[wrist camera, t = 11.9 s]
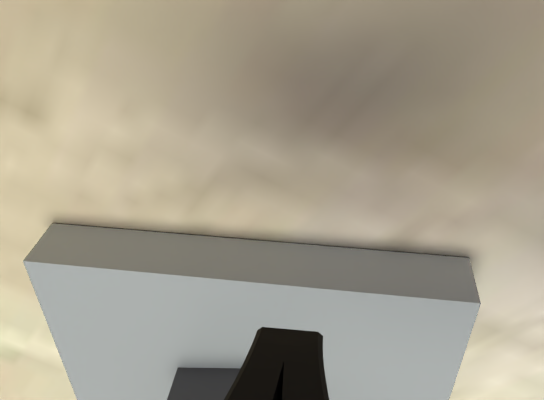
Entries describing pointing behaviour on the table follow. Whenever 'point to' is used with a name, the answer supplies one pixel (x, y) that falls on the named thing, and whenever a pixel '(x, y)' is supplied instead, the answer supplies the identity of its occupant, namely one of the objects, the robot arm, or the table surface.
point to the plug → (202, 383)
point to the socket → (248, 310)
